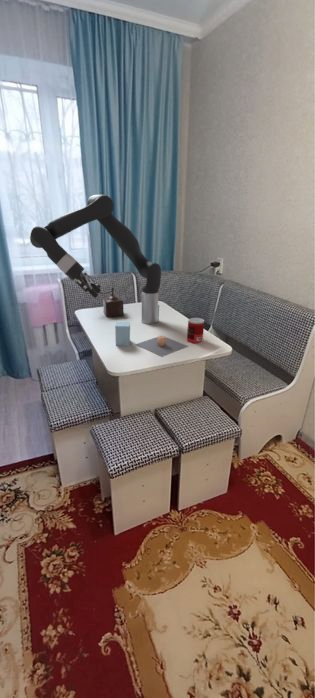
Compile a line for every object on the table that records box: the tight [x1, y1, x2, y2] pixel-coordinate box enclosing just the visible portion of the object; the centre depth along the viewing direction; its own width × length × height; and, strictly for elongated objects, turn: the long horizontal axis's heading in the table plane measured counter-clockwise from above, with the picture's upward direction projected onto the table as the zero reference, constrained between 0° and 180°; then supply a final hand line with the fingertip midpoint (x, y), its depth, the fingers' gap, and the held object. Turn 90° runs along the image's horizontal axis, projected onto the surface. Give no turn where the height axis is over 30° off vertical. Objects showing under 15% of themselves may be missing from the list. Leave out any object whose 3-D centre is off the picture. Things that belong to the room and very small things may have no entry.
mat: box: [135, 336, 189, 358], centre depth 150 cm, size 18×18×1 cm
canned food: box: [186, 317, 205, 344], centre depth 155 cm, size 8×8×11 cm
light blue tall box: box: [114, 321, 131, 347], centre depth 150 cm, size 6×6×10 cm
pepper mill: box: [95, 283, 124, 318], centre depth 189 cm, size 16×11×18 cm
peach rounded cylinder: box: [157, 335, 167, 347], centre depth 149 cm, size 4×4×4 cm
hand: (98, 294), depth 141 cm, fingers open, 8 cm apart
